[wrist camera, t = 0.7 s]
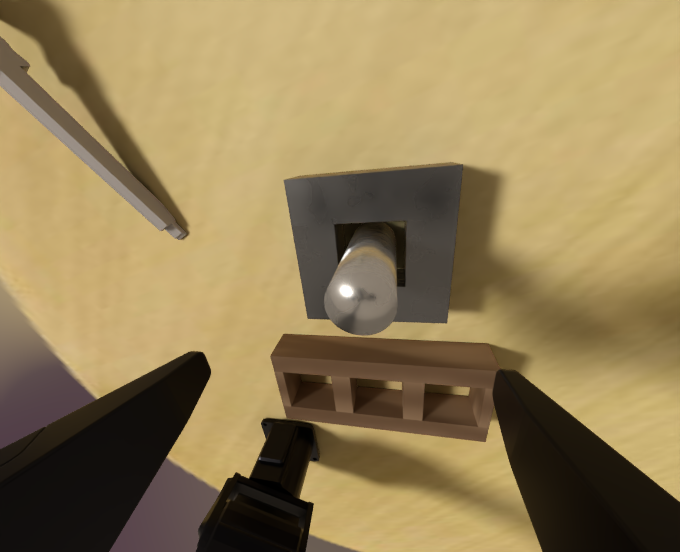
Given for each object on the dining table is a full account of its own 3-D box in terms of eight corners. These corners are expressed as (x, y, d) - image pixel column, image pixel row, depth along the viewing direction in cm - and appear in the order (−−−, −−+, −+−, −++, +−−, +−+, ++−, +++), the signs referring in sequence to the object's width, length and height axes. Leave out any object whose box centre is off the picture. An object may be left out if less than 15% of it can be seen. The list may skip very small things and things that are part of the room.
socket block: (440, 300, 20) (447, 323, 18) (317, 298, 22) (307, 318, 20) (451, 162, 16) (463, 164, 13) (299, 175, 18) (283, 179, 15)
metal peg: (395, 261, 19) (397, 337, 12) (354, 261, 20) (328, 333, 12) (395, 219, 18) (397, 272, 10) (351, 221, 19) (319, 272, 11)
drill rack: (475, 410, 24) (485, 442, 22) (296, 393, 28) (286, 418, 25) (488, 343, 21) (501, 371, 18) (283, 333, 25) (270, 355, 22)
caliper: (-35, -20, 17) (-242, -103, 11) (-30, -35, 17) (-243, -128, 11) (182, 238, 23) (114, 267, 17) (190, 232, 22) (122, 259, 17)
